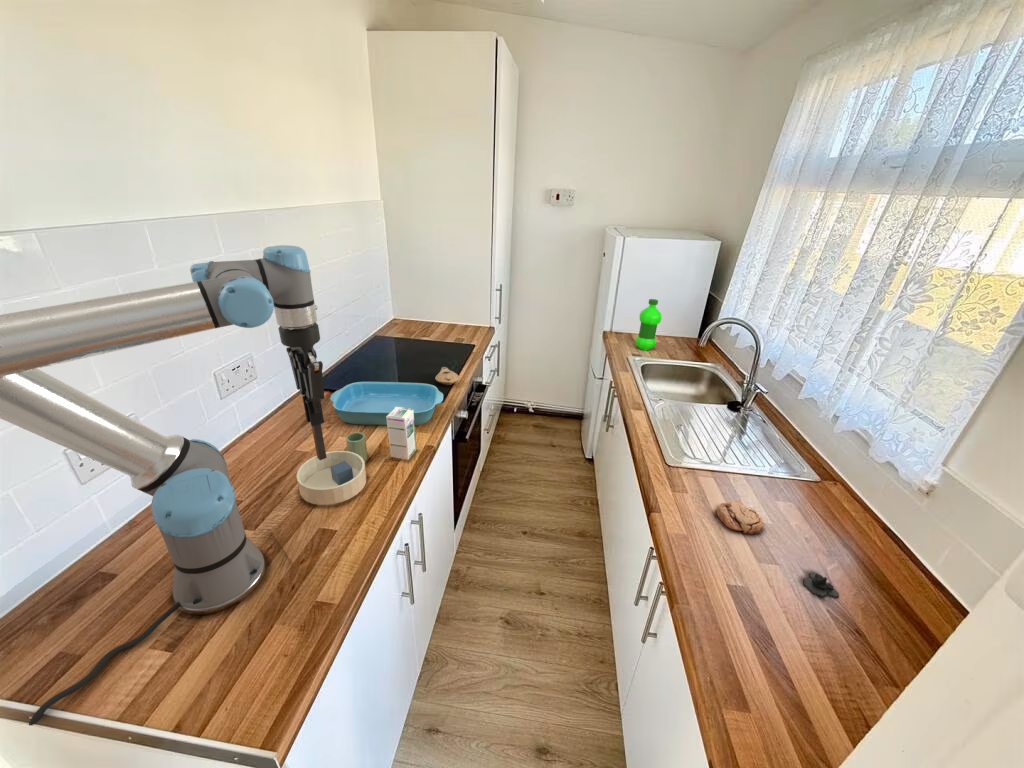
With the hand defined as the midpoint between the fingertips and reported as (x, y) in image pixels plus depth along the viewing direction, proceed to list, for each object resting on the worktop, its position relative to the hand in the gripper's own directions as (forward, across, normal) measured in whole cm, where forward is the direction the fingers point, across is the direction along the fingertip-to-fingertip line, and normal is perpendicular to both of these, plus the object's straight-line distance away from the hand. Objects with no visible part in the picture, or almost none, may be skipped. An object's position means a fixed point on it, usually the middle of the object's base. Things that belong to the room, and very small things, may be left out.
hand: (315, 421), depth 99 cm
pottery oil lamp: (+22, +34, -64) cm, 76 cm away
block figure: (+22, -95, -63) cm, 116 cm away
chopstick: (+10, 0, 0) cm, 10 cm away
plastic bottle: (+23, +2, -164) cm, 165 cm away
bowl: (+22, +3, -3) cm, 22 cm away
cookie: (+22, -76, -71) cm, 106 cm away
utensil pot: (+22, +9, -13) cm, 27 cm away
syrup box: (+22, +3, -24) cm, 33 cm away
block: (+21, +3, -5) cm, 22 cm away
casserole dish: (+22, +27, -34) cm, 48 cm away
